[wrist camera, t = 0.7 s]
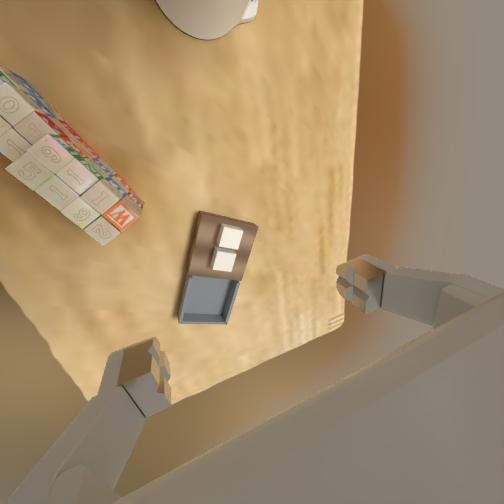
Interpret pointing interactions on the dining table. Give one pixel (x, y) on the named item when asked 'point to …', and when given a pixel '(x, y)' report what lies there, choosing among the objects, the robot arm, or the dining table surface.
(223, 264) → the tile
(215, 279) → the tray
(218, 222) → the board
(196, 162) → the dining table surface
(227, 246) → the tile
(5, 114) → the stack of blocks
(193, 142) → the dining table surface
